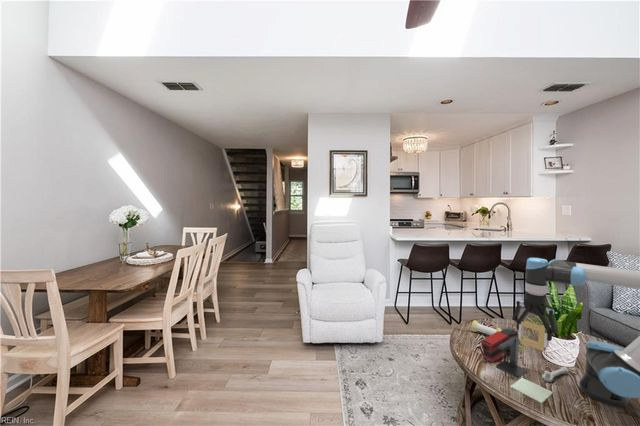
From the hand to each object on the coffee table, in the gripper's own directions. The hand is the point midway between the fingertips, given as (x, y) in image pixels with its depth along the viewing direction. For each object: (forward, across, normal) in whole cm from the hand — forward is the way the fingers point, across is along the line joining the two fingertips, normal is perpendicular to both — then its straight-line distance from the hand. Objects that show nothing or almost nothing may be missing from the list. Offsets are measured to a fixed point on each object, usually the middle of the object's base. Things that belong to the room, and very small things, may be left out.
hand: (533, 341), depth 124 cm
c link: (+2, 0, 0) cm, 2 cm away
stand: (+23, +12, -5) cm, 26 cm away
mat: (+22, 0, 0) cm, 22 cm away
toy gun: (+23, +21, -17) cm, 35 cm away
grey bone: (+23, -2, -21) cm, 31 cm away
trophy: (+23, +31, -36) cm, 53 cm away
